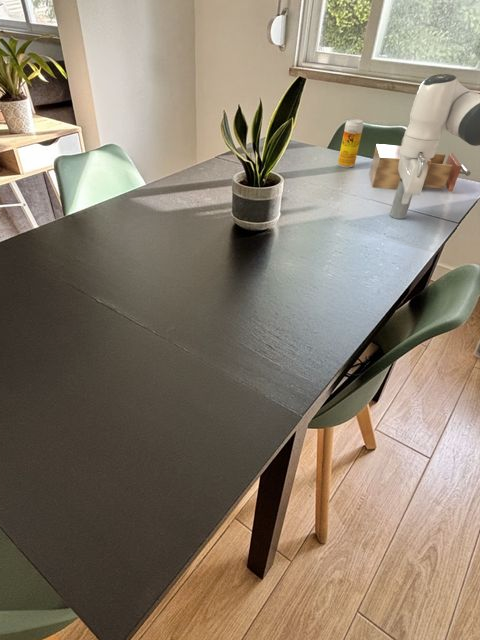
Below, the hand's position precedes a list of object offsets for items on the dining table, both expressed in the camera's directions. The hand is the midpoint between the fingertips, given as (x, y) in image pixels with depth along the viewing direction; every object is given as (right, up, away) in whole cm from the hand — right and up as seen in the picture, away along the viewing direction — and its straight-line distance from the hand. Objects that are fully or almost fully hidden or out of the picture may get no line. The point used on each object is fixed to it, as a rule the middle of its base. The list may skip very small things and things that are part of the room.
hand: (402, 198), depth 122 cm
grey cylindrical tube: (0, -4, +4) cm, 5 cm away
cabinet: (+8, +14, +25) cm, 30 cm away
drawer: (+20, +13, +22) cm, 33 cm away
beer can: (-5, +25, +36) cm, 45 cm away
